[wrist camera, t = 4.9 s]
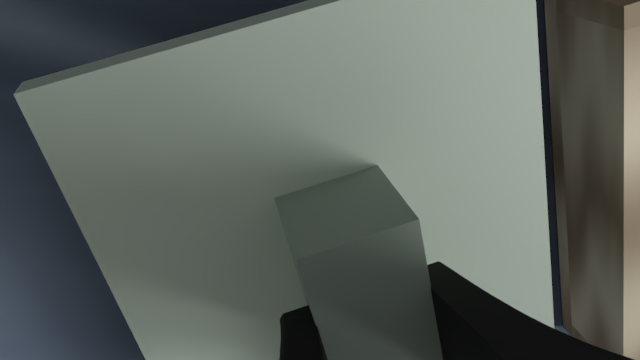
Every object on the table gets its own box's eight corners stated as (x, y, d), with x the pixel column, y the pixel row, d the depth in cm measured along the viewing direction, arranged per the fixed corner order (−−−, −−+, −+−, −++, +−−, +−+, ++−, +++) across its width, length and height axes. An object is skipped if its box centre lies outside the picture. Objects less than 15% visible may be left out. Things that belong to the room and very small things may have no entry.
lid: (530, 366, 20) (612, 472, 16) (223, 477, 19) (237, 617, 15) (494, -61, 14) (614, -43, 10) (30, 70, 13) (-24, 145, 9)
